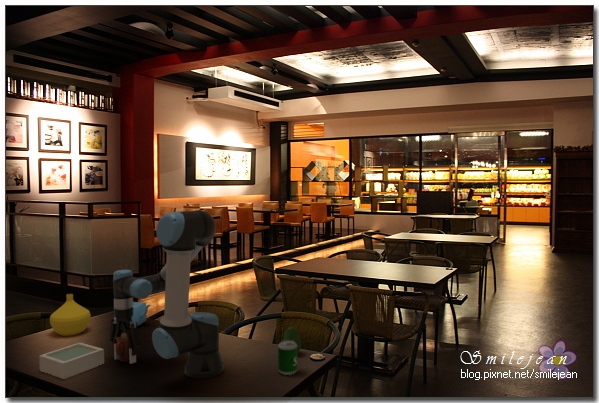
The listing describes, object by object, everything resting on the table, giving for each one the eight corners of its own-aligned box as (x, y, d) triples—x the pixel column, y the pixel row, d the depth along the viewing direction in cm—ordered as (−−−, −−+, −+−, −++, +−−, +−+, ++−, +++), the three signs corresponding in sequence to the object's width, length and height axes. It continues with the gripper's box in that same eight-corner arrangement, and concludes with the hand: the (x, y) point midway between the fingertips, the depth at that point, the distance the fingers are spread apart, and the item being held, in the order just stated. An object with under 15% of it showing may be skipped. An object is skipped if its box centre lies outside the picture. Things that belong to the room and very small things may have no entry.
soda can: (290, 377, 191) (290, 347, 190) (274, 373, 195) (274, 343, 194) (301, 371, 197) (300, 341, 197) (285, 367, 201) (285, 338, 201)
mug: (123, 355, 216) (122, 332, 216) (142, 356, 214) (141, 333, 214) (107, 365, 204) (106, 341, 204) (127, 367, 203) (126, 342, 202)
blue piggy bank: (111, 329, 251) (111, 304, 251) (127, 320, 267) (126, 296, 266) (145, 331, 248) (144, 305, 248) (159, 322, 264) (158, 298, 263)
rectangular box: (104, 363, 207) (103, 349, 206) (63, 379, 191) (63, 363, 191) (80, 356, 215) (79, 342, 215) (39, 370, 200) (39, 355, 199)
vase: (58, 327, 255) (57, 290, 254) (95, 326, 257) (94, 289, 256) (44, 339, 237) (42, 300, 236) (84, 338, 239) (83, 298, 238)
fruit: (285, 350, 220) (285, 324, 219) (302, 352, 218) (302, 325, 218) (280, 357, 212) (280, 329, 212) (299, 358, 211) (299, 330, 210)
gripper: (148, 308, 206) (150, 362, 207) (114, 301, 217) (115, 352, 218) (133, 313, 199) (135, 368, 201) (99, 305, 211) (101, 358, 212)
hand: (125, 360), depth 209 cm, fingers open, 9 cm apart
